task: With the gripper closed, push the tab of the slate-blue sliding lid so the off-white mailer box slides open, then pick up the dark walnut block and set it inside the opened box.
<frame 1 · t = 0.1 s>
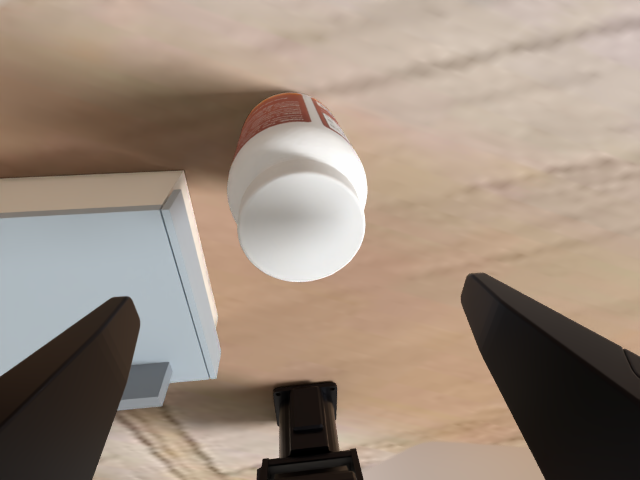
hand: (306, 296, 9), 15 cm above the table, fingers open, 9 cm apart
pill bottle: (291, 141, 22), on the table
lid: (42, 321, 20), point 6 cm above the table, slide at 0.0 cm
mailer box: (90, 260, 25), on the table
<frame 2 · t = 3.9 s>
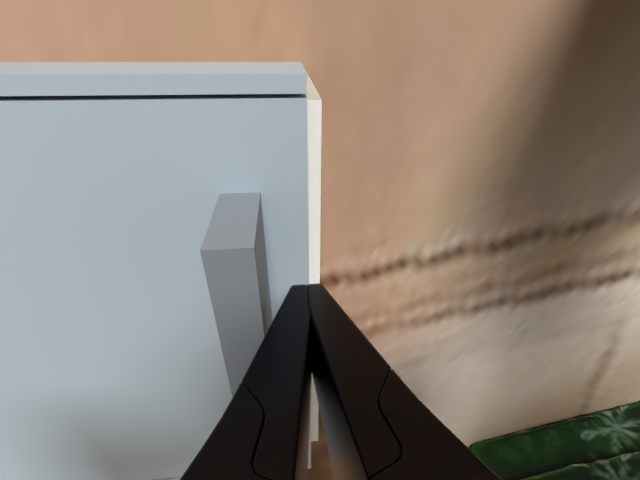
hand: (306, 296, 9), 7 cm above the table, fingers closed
walnut block: (317, 418, 25), on the table
lid: (108, 364, 11), point 6 cm above the table, slide at 0.6 cm, touching gripper
mailer box: (174, 258, 16), on the table
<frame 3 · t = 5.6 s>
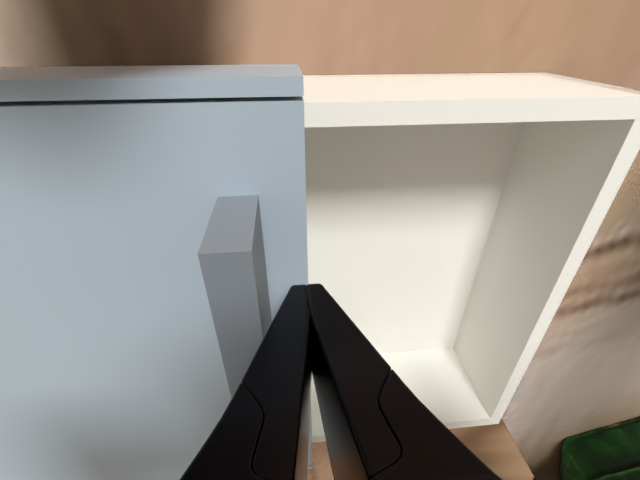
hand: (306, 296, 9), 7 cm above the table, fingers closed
walnut block: (442, 407, 26), on the table
box: (627, 473, 38), on the table
lid: (108, 367, 11), point 6 cm above the table, slide at 10.0 cm, touching gripper
mailer box: (366, 250, 17), on the table
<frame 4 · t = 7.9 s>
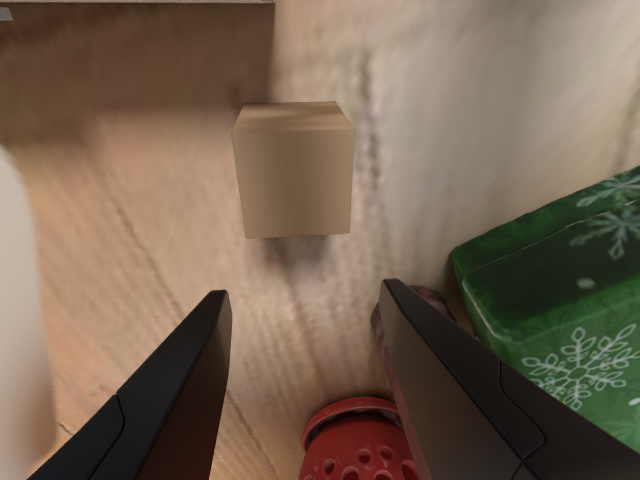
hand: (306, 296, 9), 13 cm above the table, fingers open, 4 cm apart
walnut block: (292, 147, 20), on the table
can: (407, 308, 29), on the table
plant pot: (350, 419, 37), on the table
box: (563, 320, 32), on the table
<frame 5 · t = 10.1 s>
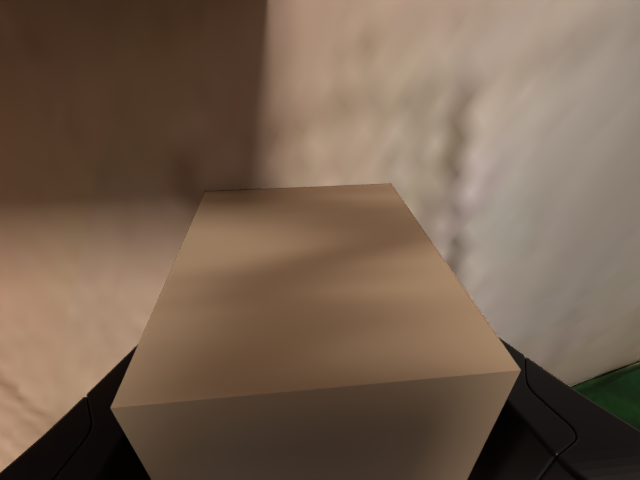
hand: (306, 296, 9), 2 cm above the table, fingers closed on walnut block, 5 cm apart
walnut block: (302, 262, 11), on the table, touching gripper
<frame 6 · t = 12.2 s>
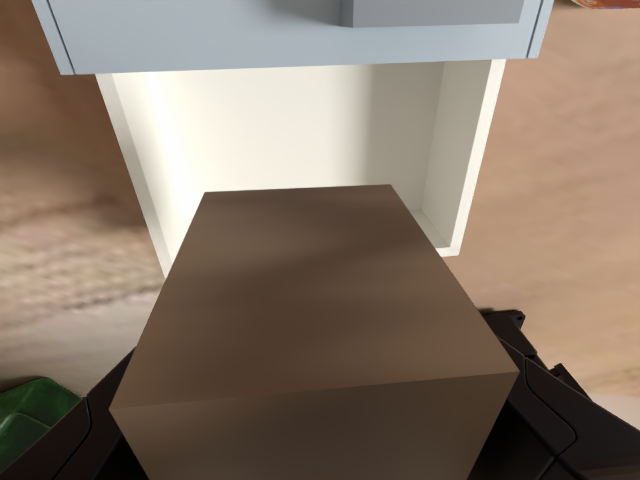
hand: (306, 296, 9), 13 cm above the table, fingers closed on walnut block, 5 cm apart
walnut block: (302, 263, 11), point 11 cm above the table, touching gripper
mailer box: (305, 121, 19), on the table
when the fingers open (4 cm above the table, at t = 14.3 s): walnut block drops 2 cm, resting on mailer box.
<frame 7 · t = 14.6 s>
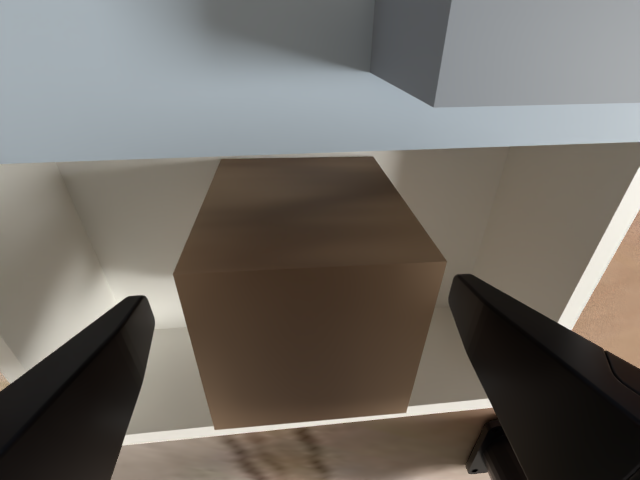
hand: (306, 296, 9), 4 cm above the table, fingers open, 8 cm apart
walnut block: (299, 223, 13), resting on mailer box
mailer box: (296, 191, 12), on the table
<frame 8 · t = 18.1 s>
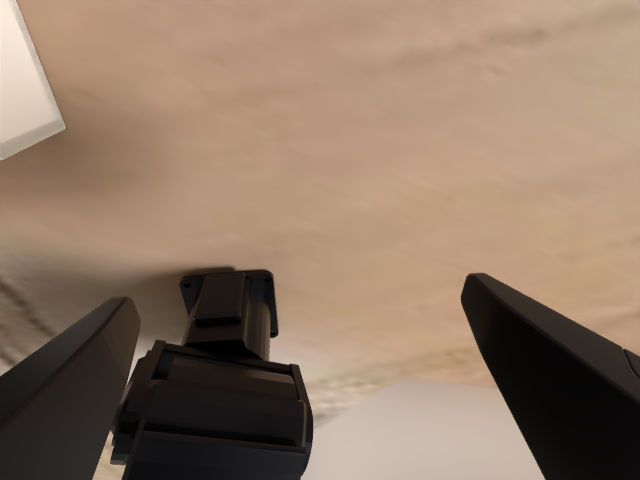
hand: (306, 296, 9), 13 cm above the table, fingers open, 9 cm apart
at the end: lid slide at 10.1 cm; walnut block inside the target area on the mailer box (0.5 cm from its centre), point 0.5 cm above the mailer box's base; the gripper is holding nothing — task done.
